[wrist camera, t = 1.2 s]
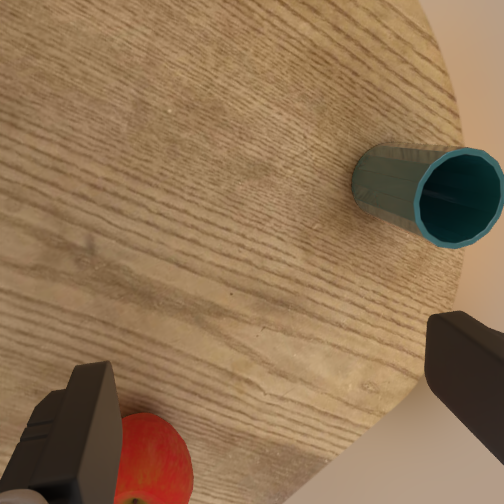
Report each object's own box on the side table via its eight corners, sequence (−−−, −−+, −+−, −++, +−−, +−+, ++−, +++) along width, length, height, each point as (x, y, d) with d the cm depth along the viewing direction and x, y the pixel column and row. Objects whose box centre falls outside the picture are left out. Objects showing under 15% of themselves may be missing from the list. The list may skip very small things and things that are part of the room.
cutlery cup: (345, 152, 36) (408, 162, 26) (417, 134, 36) (504, 137, 27) (357, 226, 38) (419, 259, 28) (425, 207, 38) (508, 234, 29)
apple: (123, 478, 41) (107, 597, 30) (72, 412, 38) (36, 519, 28) (205, 435, 41) (217, 539, 31) (161, 366, 38) (157, 455, 28)
